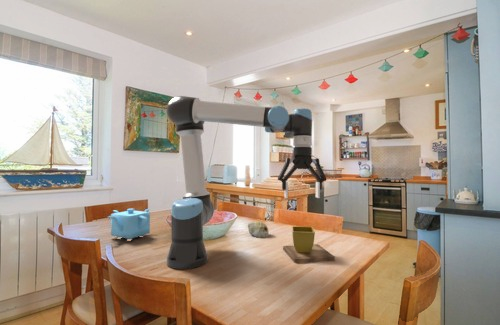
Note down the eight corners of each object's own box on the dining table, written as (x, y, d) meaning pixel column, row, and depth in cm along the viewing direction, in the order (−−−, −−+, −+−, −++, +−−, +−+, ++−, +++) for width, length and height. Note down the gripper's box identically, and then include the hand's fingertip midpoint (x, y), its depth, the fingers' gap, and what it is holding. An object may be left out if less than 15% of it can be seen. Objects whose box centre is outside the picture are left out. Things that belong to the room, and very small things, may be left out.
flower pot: (315, 255, 104) (315, 232, 104) (292, 254, 105) (292, 231, 105) (312, 248, 112) (312, 226, 112) (292, 247, 113) (291, 226, 114)
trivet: (294, 263, 100) (294, 258, 100) (283, 249, 116) (283, 245, 116) (335, 260, 102) (334, 256, 102) (318, 247, 118) (318, 243, 118)
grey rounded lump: (271, 236, 134) (262, 219, 133) (254, 245, 134) (245, 228, 133) (269, 230, 144) (260, 214, 144) (253, 238, 144) (244, 222, 143)
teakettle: (148, 241, 129) (148, 210, 129) (105, 244, 123) (105, 213, 123) (150, 231, 147) (150, 205, 147) (113, 234, 141) (113, 206, 141)
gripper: (275, 145, 105) (274, 199, 105) (334, 146, 108) (334, 198, 108) (271, 146, 112) (270, 196, 112) (327, 147, 116) (326, 196, 116)
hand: (301, 197), depth 110 cm, fingers open, 13 cm apart
